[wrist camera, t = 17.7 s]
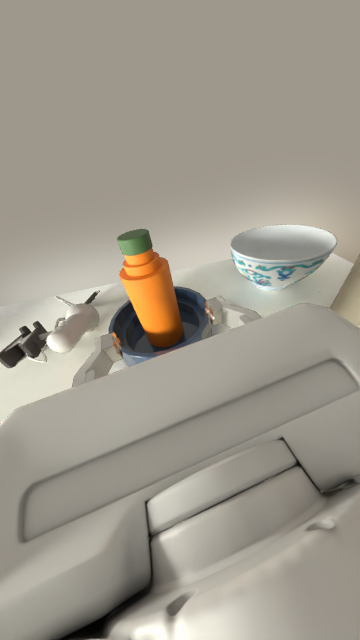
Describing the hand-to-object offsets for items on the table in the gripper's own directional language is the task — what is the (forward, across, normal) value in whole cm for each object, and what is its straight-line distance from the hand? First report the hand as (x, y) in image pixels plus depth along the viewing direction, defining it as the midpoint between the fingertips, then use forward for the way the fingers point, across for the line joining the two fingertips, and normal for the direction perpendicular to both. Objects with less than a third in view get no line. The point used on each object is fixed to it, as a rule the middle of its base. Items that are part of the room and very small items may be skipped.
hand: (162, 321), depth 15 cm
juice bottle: (+8, 0, +9) cm, 12 cm away
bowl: (+8, 0, +10) cm, 12 cm away
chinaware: (+12, -22, +10) cm, 27 cm away
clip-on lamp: (+17, +16, +10) cm, 25 cm away
